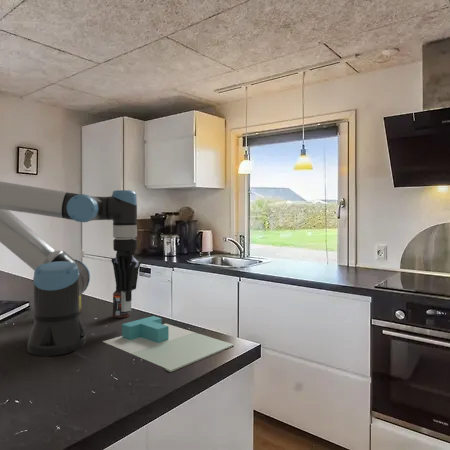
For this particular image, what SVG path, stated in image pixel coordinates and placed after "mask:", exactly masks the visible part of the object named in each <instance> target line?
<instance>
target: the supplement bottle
mask: <svg viewBox="0 0 450 450" xmlns="http://www.w3.org/2000/svg"><path fill="white" fill-rule="evenodd" d="M130 311H131V310H130ZM130 311H126V312H123V311H122V308H121V291H120V289H119V288H117V287H116V286H115V291H113V293H112V316H113V318H116V319H124V318H128V317H130V316H131V315H130V314H131V312H130Z"/></svg>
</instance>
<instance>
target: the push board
mask: <svg viewBox="0 0 450 450" xmlns="http://www.w3.org/2000/svg"><path fill="white" fill-rule="evenodd" d="M162 324H163V323H162ZM163 325H166V326H169V340H166V341H163V342H160V343H156V342H154V341H151V340H148V339H145V338H143V337H139V338H136V339H132V340H128V339H125V338H123V337H122V335H120V336H116V337H114V338H110V339H107V340H102V342H103V343H105V344H107V345H110V346H113V347H114V348H117V349H120V350H121V351H124V352H126V353H128V354H130V355H134V356H135V357H138V358H141V359H143V360H145V361H147V362H150V363H153V364H154V365H157V366H159V367H162V368H163V370H165V371H167V372H170V373H172V372H175V371H177V370H179V369H181V368H184V367H186V366H189V365H191V364H194V363H196V362H199V361H201V360H203V359H206V358H208V357H211V356H213V355H215V354H218V353H221V352H223V351H225V349H226V350H227V348H228V349H231V348H233V347H234V346H235V344H233V343H230V342H227V341H223V340H220V339H217V338H213V337H211V336H208V335H204V334H202V333H198V332H194V331H192V330H187V329H184V328H181V327H179V326H175V325H172V324H169V323H164V324H163ZM232 346H233V347H232Z"/></svg>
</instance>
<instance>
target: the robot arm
mask: <svg viewBox="0 0 450 450" xmlns="http://www.w3.org/2000/svg"><path fill="white" fill-rule="evenodd" d="M13 212H16V213H17V212H19V213H24V214H25V213H26V214H32V215H37V216H38V215H39V216H46V217H52V218H58V219H59V218H60V219H66V220H71V221H75V222H79V223H89V222H91V221H112V237H113V238H114V239H113V243H112V245H113V247H112V248H113V251H114V252H116V253H115V257H114V258H111V260H110V261H111V264H112V266H113V273H114V279H115V288H116V287H117V288H119V289H120V291H121V308H122V311H123V312H126V311H132V299H133V298H132V292H133V290H136V289H137V283H138V277H139V276H138V275H139V271H140V266H141V261H140V260H137V259H136V254H135V251H137V250H138V238H137V237H138V227H137V226H138V200H137V193H136V192H135V191H134V190H129V189H128V190H127V189H126V190H125V189H124V190H123V189H120V190H119V189H117V190H113V191H112V194H111V195H110V196H92V195H88V194H82V193H73V192H67V191H63V190H62V191H61V190H56V189H55V190H54V189H50V188H44V187H39V186H37V187H36V186H31V185H25V184H19V183H14V182H7V181H1V180H0V244H2V245H3V246H5V247H6V249H8V250H9V251H10V252H11V253H13V254H14V255H15V256H17V257H18V258H19V259H20V260H22V262H24V264H26V265H27V266H29V267H30V269H32V270H33V271H34V272H33V279H32V282H33V303H34V304H33V309H34V311H33V312H34V313H33V314H34V315H33V316H34V318H33V320H34V322H33V325H32V328H31V331H30V333H29V336H28V340H27V353H29V354H31V355H34V356H40V357H48V356H49V357H52V356H59V355H65V354H70V353H72V352H75V351H76V350H79V349H81V348H82V347H84V346H85V345H86V342H87V339H86V337H87V336H86V333H85V330H84V328H83V325H82V322H81V319H80V313H79V296H80V295H81V296H82V294H83V293H84V292H85V291H86V290H87V288H88V287H89V285H90V281H91V275H90V270H89V268H88V267H87V265H86V264H85V263H83V262H82V261H80V260H79V259H74V258H73V257H72V256H71V255H69V254H68V253H67V251H64V250H56V249H55V248H53V247H52V246H51V245H50V244H49V243H48V242H46V241H45V240H44V239H43V238H41V237H40V235H38V234H37V233H36V232H34V230H32V228H30V227H29V226H27V224H25V223H24V222H23V221H22V220H20V219H19V218H18V217H17V216H16V215H15V214H13Z"/></svg>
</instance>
